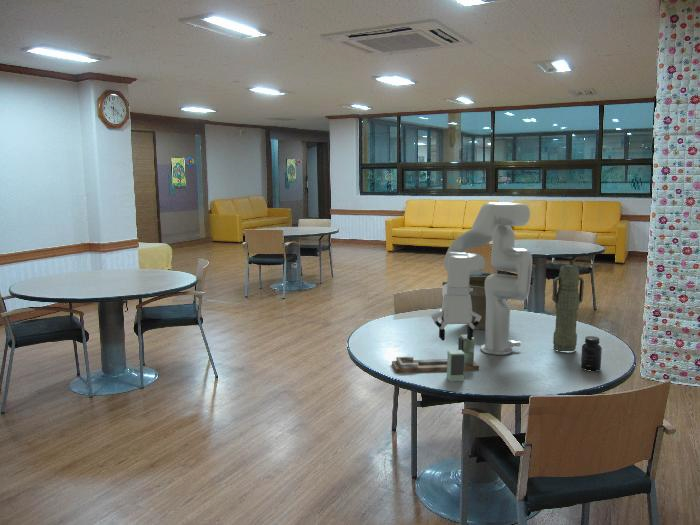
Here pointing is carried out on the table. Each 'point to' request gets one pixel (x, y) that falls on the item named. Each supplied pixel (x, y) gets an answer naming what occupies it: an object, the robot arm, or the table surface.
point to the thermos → (567, 307)
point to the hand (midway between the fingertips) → (455, 339)
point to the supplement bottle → (591, 354)
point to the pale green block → (455, 365)
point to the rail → (437, 360)
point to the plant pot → (478, 299)
